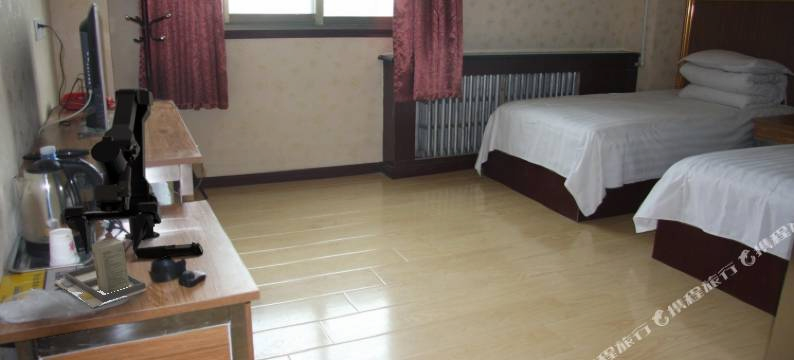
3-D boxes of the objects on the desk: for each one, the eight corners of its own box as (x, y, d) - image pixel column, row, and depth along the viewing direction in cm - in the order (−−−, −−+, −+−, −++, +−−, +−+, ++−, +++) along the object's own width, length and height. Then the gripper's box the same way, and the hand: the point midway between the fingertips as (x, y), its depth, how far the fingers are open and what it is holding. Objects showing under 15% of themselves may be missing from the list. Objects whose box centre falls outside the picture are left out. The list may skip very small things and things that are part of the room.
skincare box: (121, 281, 134) (115, 236, 132) (130, 287, 131) (125, 241, 129) (96, 288, 131) (90, 243, 128) (105, 294, 128) (99, 248, 125)
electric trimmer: (136, 257, 151) (134, 245, 150) (203, 251, 154) (202, 238, 153) (134, 263, 147) (132, 250, 146) (202, 256, 151) (201, 244, 150)
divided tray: (55, 283, 134) (54, 275, 134) (106, 268, 142) (105, 261, 142) (93, 308, 123) (92, 300, 123) (146, 290, 131) (145, 282, 131)
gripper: (58, 169, 129) (49, 239, 121) (154, 165, 133) (151, 232, 125) (74, 195, 138) (66, 261, 131) (163, 190, 142) (160, 254, 135)
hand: (110, 251), depth 130 cm, fingers open, 9 cm apart
